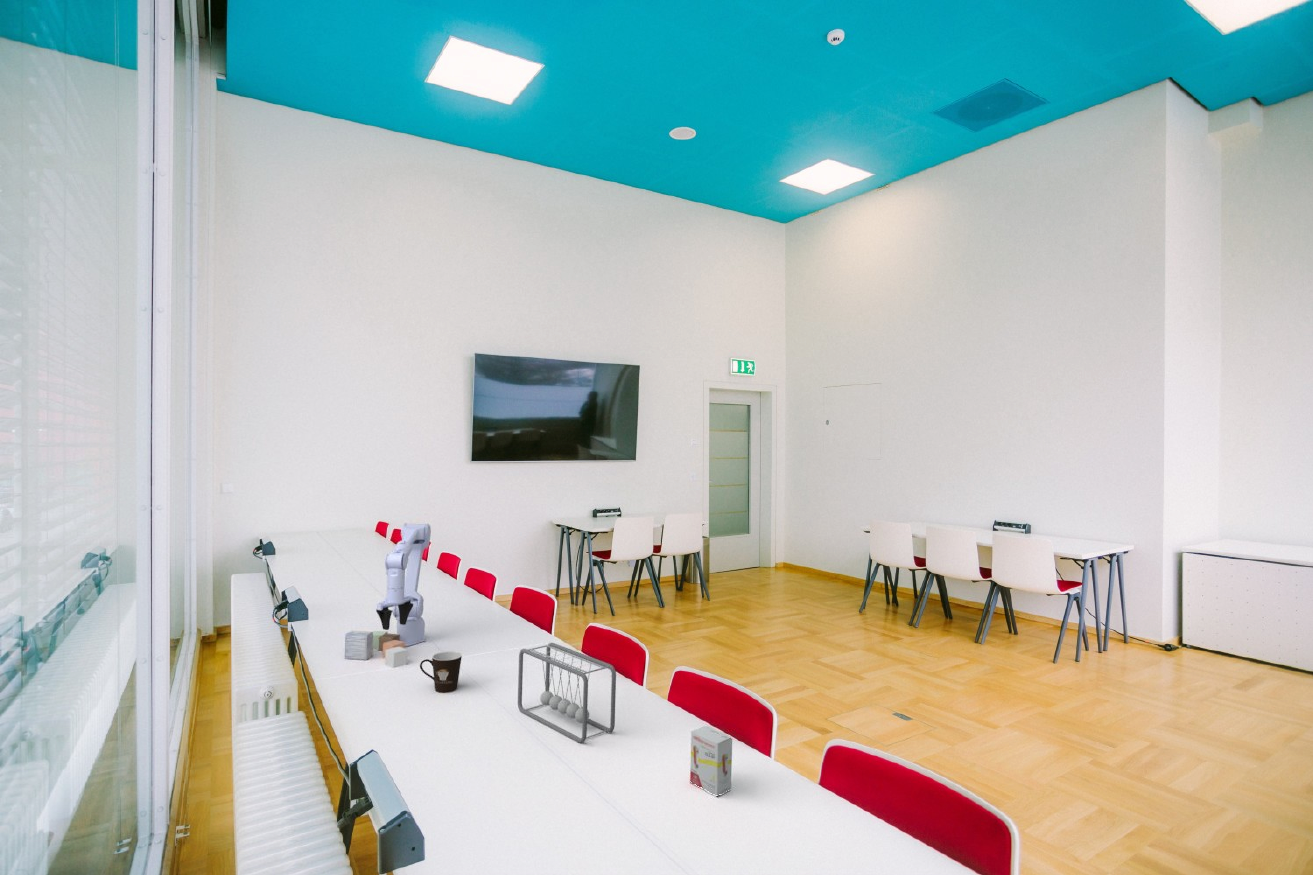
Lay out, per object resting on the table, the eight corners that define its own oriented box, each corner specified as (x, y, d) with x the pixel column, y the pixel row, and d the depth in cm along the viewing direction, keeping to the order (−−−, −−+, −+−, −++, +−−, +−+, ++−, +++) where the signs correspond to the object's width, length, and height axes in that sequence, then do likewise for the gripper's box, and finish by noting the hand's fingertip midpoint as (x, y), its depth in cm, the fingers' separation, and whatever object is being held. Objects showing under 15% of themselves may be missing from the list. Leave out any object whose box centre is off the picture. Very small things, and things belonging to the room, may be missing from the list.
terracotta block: (394, 654, 238) (394, 639, 238) (404, 656, 236) (404, 642, 236) (382, 657, 234) (383, 643, 234) (392, 660, 231) (393, 645, 231)
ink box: (688, 782, 152) (689, 729, 152) (704, 776, 156) (705, 724, 156) (716, 798, 146) (717, 742, 146) (731, 790, 149) (733, 736, 149)
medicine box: (372, 656, 234) (373, 631, 235) (366, 660, 230) (366, 634, 230) (351, 655, 235) (351, 630, 235) (344, 659, 231) (344, 633, 231)
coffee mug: (466, 687, 208) (467, 654, 208) (447, 696, 200) (448, 662, 200) (437, 680, 213) (438, 648, 213) (417, 689, 205) (418, 655, 205)
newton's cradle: (516, 710, 191) (518, 647, 191) (547, 701, 198) (549, 640, 198) (583, 746, 169) (585, 674, 170) (615, 734, 177) (617, 666, 177)
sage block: (373, 644, 248) (373, 631, 248) (387, 645, 248) (387, 631, 248) (367, 648, 243) (368, 634, 243) (382, 649, 243) (382, 635, 243)
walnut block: (387, 647, 246) (387, 633, 246) (399, 648, 245) (400, 634, 245) (378, 651, 241) (379, 636, 241) (391, 652, 240) (391, 638, 240)
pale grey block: (398, 661, 230) (399, 646, 230) (407, 664, 227) (407, 649, 227) (385, 664, 226) (385, 649, 227) (393, 668, 223) (393, 652, 223)
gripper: (403, 582, 243) (401, 620, 243) (370, 589, 230) (369, 630, 230) (418, 584, 240) (416, 623, 240) (385, 592, 227) (384, 633, 227)
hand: (394, 626), depth 235 cm, fingers open, 7 cm apart
